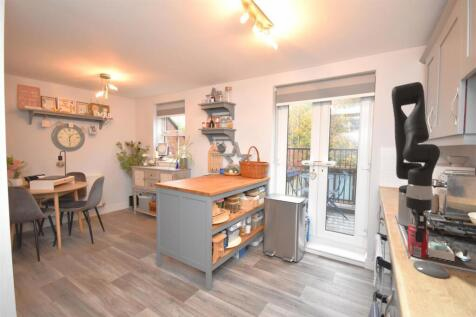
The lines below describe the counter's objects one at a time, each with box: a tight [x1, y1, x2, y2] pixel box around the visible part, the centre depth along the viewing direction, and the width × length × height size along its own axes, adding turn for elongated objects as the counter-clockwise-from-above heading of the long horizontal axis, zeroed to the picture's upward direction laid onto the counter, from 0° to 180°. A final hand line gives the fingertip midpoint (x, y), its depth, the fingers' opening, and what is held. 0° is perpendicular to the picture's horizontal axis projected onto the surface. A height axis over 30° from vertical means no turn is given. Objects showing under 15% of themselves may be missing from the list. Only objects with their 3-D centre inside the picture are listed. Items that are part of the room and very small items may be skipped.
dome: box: [430, 241, 448, 252], centre depth 82 cm, size 4×4×4 cm
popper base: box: [428, 242, 455, 262], centre depth 82 cm, size 7×7×3 cm
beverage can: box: [406, 223, 430, 259], centre depth 82 cm, size 6×6×12 cm
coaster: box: [412, 260, 450, 279], centre depth 73 cm, size 9×9×1 cm
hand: (417, 237), depth 82 cm, fingers open, 8 cm apart
